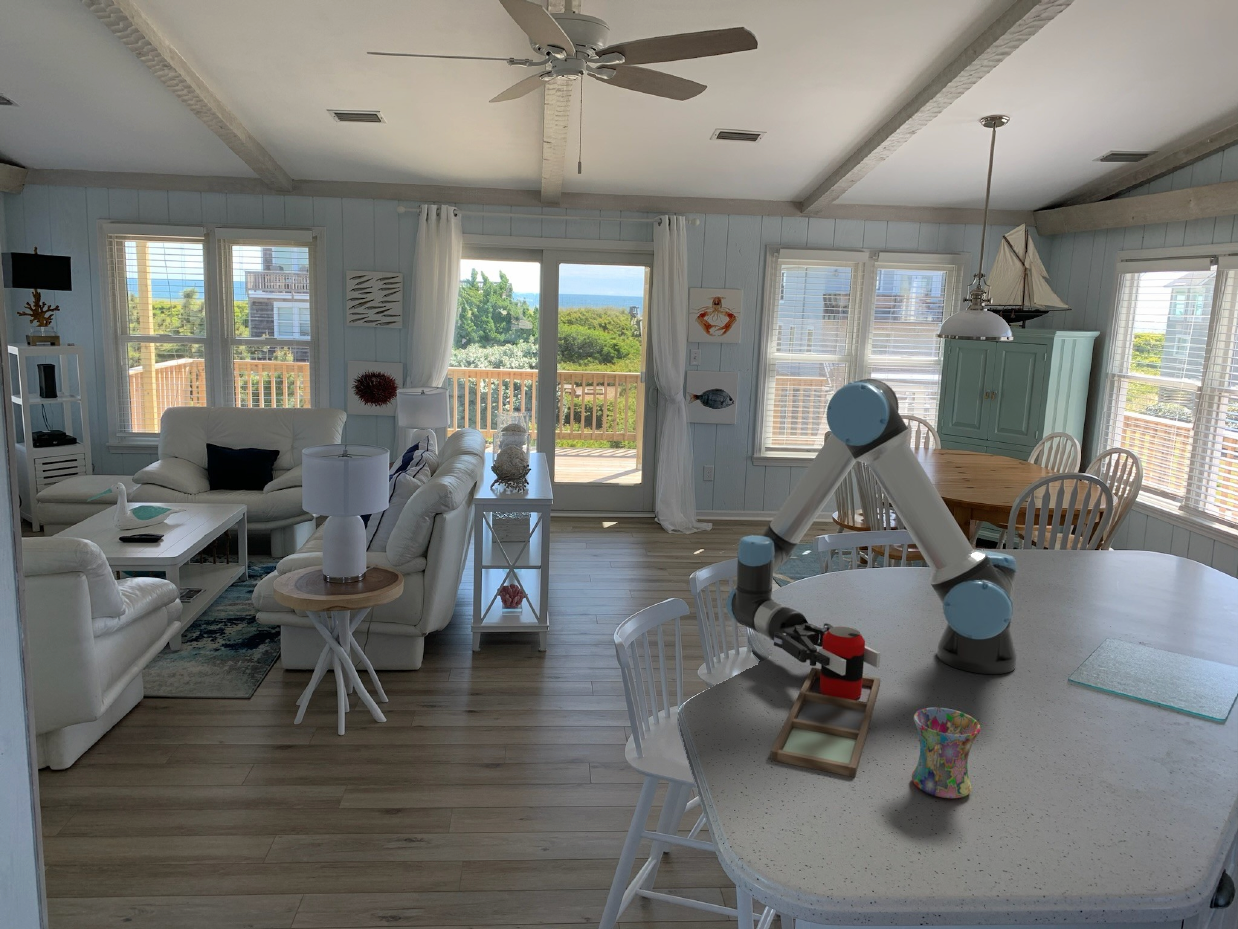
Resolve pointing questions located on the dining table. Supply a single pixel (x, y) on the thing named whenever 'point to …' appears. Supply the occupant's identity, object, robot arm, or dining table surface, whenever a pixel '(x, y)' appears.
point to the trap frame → (826, 729)
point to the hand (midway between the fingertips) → (861, 664)
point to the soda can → (851, 649)
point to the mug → (944, 751)
